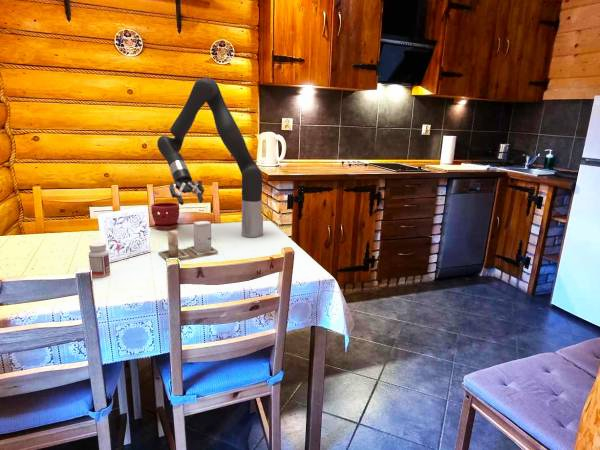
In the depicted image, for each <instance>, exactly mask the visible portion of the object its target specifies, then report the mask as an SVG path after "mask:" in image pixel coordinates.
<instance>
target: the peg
mask: <svg viewBox="0 0 600 450" xmlns="http://www.w3.org/2000/svg"><path fill="white" fill-rule="evenodd" d="M178 233H179V232H178V230H174V229H171V230H167V242H168V243H167V245H168V247H167V248H168V250H169V257H171V258H175V257H178V256H179V255H178V248H179V239H178V236H179V235H178Z"/></svg>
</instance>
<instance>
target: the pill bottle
mask: <svg viewBox="0 0 600 450" xmlns="http://www.w3.org/2000/svg"><path fill="white" fill-rule="evenodd" d="M88 246H89V253H88V261H89V262H88V263H89V268H90V267H91V270H92V276H91V277H93V278H95V279H97V278H104V277H108V276H109V275H110V274H111V267H110V265H111V264H110V256H109V255H110V253H109V250H108V249H107V243H106V242H104V241H95V242H91V243H89V244H88Z"/></svg>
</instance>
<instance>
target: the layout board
mask: <svg viewBox="0 0 600 450" xmlns="http://www.w3.org/2000/svg"><path fill="white" fill-rule="evenodd" d="M157 255H158V256H160V257H161V258H162V259H163V260H164V261H166V259H169V258H171V257H169V249H166V250H161V251H158V252H157ZM178 255H179V256H178V257H175V258H178V259H179V260H180V261H179V262H183V261H188V260H194V259H199V258H204V257H210V256H215V255H216V256H217V255H219V250H218V249H215V247H213V246H211V251H209V252H202V253H198V252H196V251H195V250H194V245H190V246H187V247H186V248H180V247H178Z"/></svg>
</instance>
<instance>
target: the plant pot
mask: <svg viewBox="0 0 600 450" xmlns="http://www.w3.org/2000/svg"><path fill="white" fill-rule="evenodd" d="M150 209H151V216H152V220H153V222H154V224H153V226H154V228H155V229H157V230H161V231H163V230H164V231H166V230H167V231H171V230H174V229H176V228H178V227H179V225H180V224H179V223H178V221H179V218H180V204H179V202H178V203H177V202H170V201H169V202H166V201H165V202H156V203H152V204H151V205H150Z"/></svg>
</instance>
